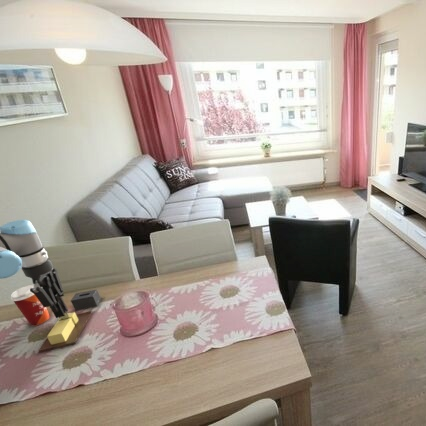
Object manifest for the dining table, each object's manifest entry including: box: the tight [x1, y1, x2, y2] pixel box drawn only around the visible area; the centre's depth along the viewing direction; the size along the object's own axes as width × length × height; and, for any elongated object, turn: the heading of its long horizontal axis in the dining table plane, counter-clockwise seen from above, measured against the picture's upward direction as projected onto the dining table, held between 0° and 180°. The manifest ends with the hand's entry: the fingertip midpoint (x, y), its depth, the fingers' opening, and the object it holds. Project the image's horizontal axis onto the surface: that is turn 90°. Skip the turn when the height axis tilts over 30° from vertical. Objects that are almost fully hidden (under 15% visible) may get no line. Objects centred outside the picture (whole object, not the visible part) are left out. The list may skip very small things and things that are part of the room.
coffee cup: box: [10, 284, 51, 327], centre depth 117 cm, size 8×8×15 cm
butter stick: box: [46, 318, 75, 345], centre depth 110 cm, size 4×8×4 cm, turn 18°
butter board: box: [38, 310, 93, 353], centre depth 113 cm, size 11×17×1 cm, turn 18°
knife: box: [53, 293, 70, 320], centre depth 111 cm, size 3×2×15 cm, turn 108°
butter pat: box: [58, 311, 78, 324], centre depth 115 cm, size 4×2×4 cm, turn 108°
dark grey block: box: [70, 288, 102, 312], centre depth 126 cm, size 8×5×6 cm, turn 108°
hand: (62, 314), depth 112 cm, fingers closed on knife, 2 cm apart
